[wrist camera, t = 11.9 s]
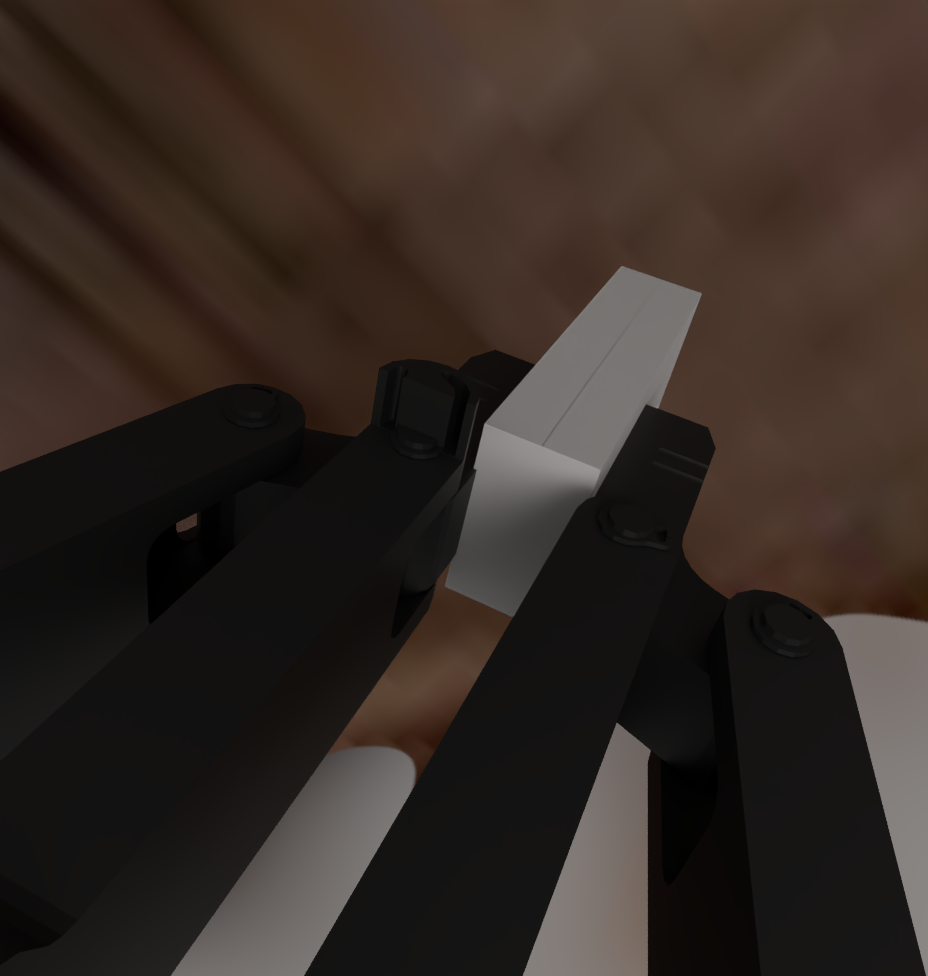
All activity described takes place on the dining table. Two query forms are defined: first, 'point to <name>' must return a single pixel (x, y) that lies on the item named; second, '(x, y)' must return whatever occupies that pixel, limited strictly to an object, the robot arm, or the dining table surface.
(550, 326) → the dining table surface
